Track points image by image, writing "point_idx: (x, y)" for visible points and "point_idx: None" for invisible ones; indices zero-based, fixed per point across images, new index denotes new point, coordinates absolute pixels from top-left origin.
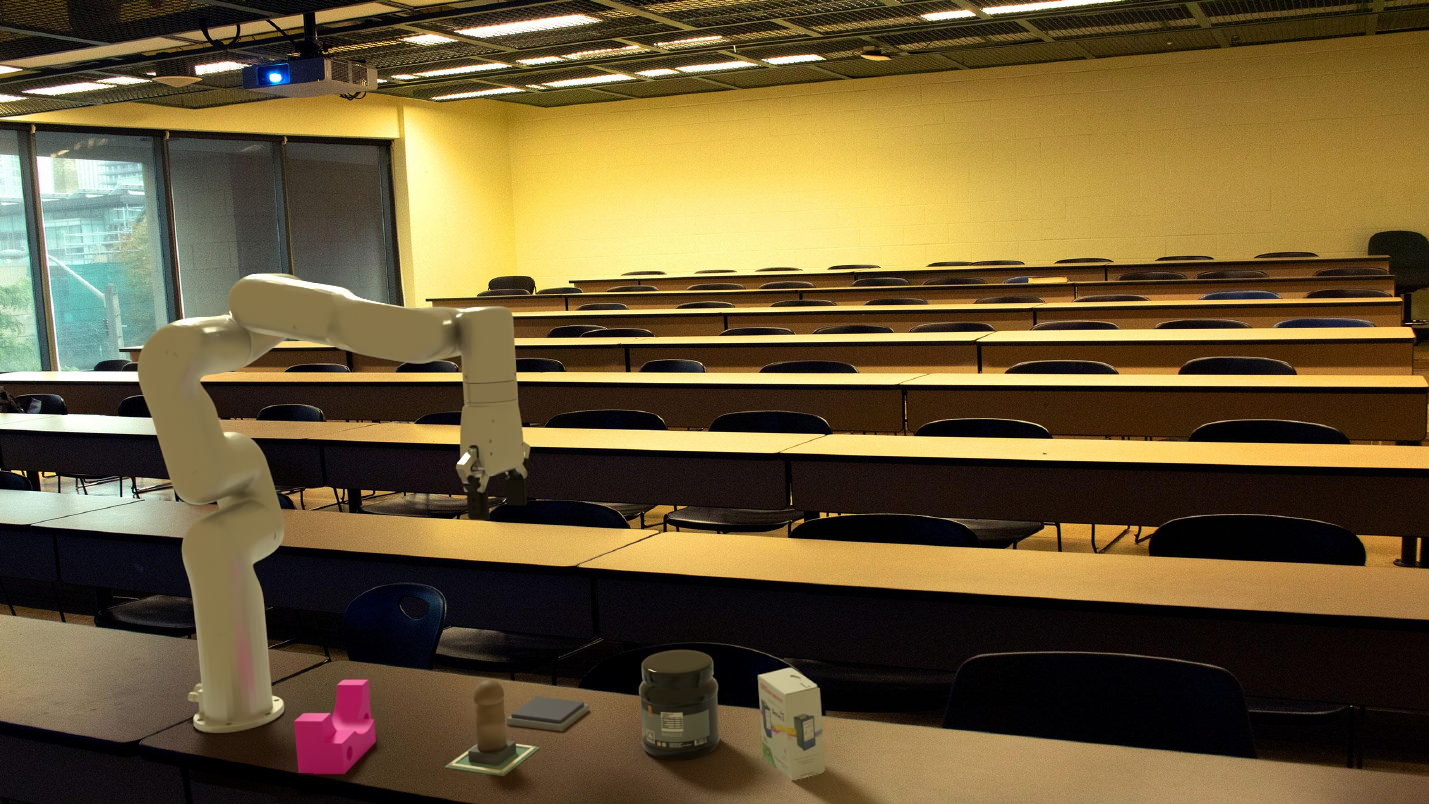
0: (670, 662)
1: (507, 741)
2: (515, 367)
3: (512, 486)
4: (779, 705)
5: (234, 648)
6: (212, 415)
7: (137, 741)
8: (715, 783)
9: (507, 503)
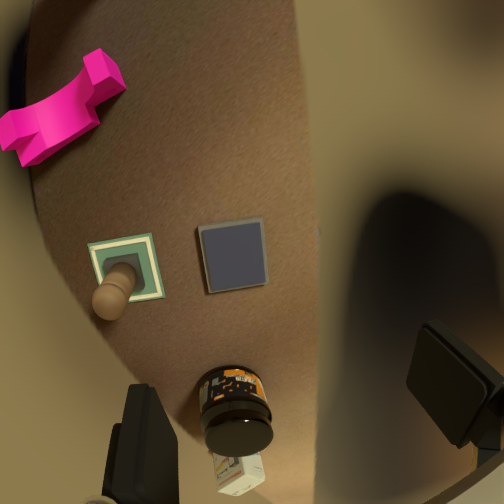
0: (234, 439)
1: (139, 282)
2: None
3: (455, 399)
4: (221, 479)
5: None
6: None
7: None
8: (190, 422)
9: (421, 332)
